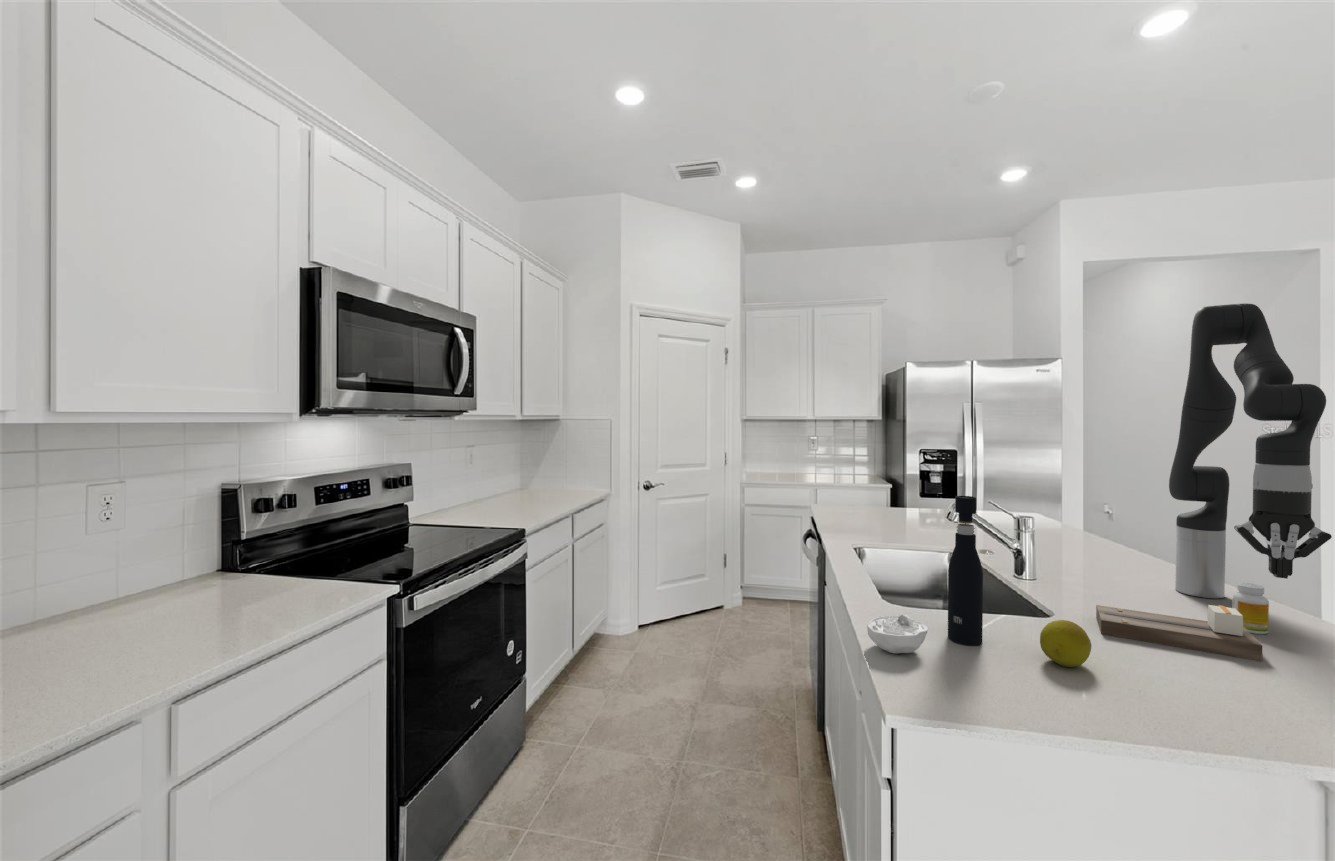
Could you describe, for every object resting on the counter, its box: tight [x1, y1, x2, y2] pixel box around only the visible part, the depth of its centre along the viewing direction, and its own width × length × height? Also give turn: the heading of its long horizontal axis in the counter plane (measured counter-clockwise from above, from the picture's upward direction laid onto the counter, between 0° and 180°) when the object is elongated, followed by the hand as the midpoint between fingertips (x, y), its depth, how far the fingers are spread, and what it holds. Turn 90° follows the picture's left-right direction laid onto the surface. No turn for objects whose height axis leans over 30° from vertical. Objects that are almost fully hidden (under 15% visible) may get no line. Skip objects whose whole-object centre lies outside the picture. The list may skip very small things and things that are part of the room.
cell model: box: [866, 614, 929, 654], centre depth 110 cm, size 10×12×7 cm
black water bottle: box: [947, 495, 984, 647], centre depth 114 cm, size 6×6×30 cm
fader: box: [1207, 604, 1243, 636], centre depth 110 cm, size 5×4×4 cm
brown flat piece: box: [1095, 604, 1263, 662], centre depth 115 cm, size 11×24×3 cm, turn 56°
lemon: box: [1039, 619, 1092, 668], centre depth 103 cm, size 11×8×8 cm
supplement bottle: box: [1231, 582, 1270, 635], centre depth 118 cm, size 5×5×10 cm
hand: (1280, 577), depth 106 cm, fingers closed
